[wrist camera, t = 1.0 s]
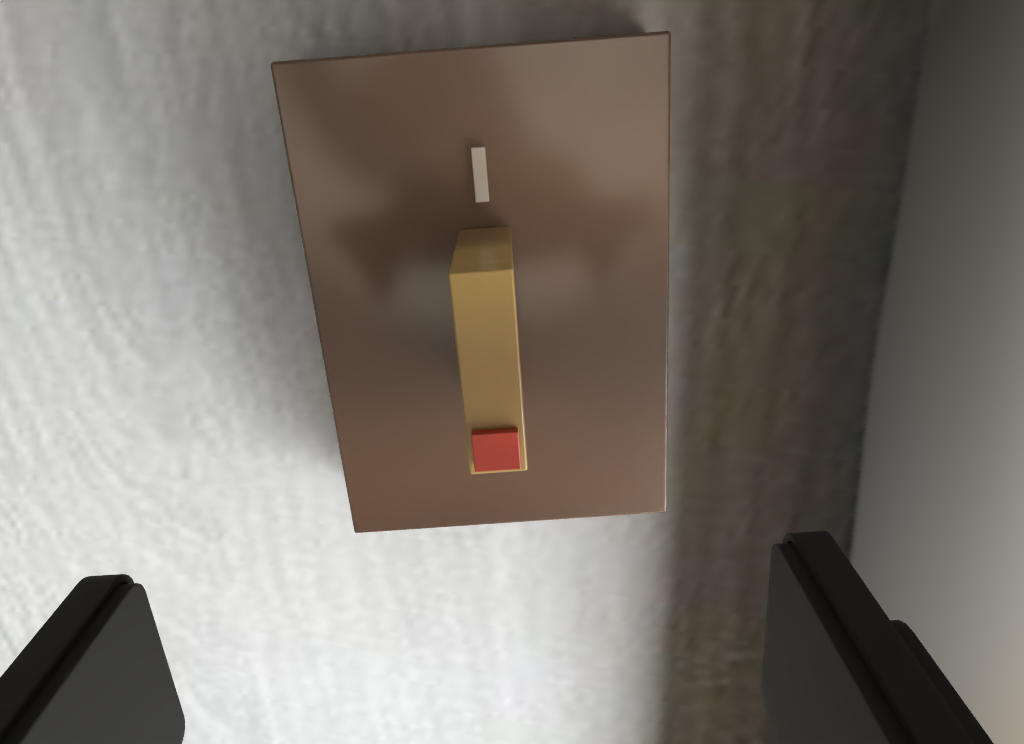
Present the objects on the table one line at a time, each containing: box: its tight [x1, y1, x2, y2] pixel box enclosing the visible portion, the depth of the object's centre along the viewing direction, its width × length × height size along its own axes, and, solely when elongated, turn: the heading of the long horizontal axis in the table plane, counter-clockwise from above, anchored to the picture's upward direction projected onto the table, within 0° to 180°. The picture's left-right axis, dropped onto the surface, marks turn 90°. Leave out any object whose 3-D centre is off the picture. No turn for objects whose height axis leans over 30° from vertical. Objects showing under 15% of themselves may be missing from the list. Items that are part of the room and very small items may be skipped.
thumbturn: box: [449, 226, 528, 474], centre depth 19 cm, size 5×1×5 cm, turn 4°
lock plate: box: [271, 31, 671, 533], centre depth 23 cm, size 14×10×3 cm
